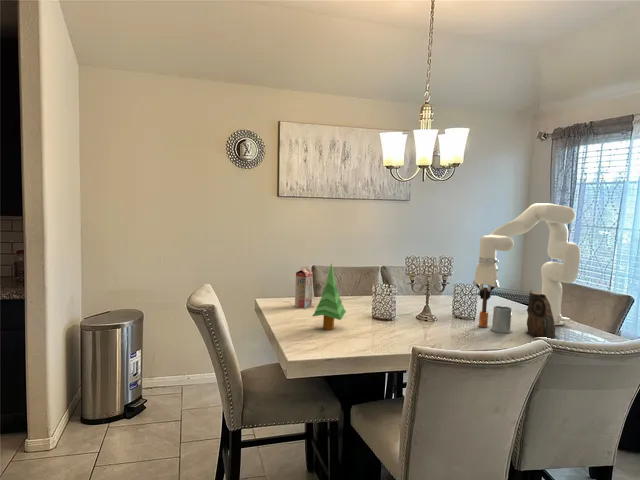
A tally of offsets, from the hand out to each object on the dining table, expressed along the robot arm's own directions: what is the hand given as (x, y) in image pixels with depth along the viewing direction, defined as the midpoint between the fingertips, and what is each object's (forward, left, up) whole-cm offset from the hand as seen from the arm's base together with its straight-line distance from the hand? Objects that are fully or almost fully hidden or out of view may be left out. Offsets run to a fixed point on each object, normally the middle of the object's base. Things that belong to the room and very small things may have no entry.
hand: (484, 298), depth 219 cm
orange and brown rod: (0, 0, -14) cm, 14 cm away
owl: (-26, -2, -14) cm, 29 cm away
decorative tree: (+54, +55, -14) cm, 79 cm away
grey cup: (-9, +2, -14) cm, 16 cm away
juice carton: (+89, +27, -14) cm, 94 cm away
